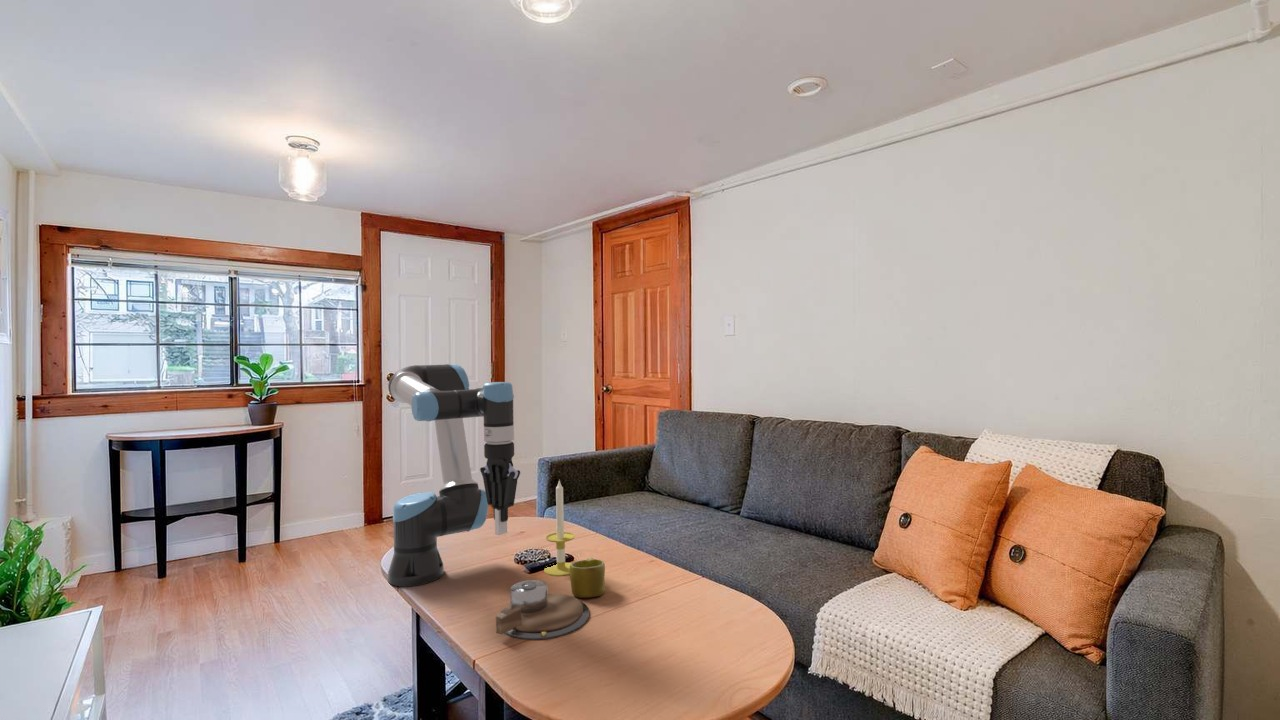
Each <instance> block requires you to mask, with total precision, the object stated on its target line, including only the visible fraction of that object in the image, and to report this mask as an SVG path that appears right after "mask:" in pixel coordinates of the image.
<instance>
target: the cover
mask: <svg viewBox="0 0 1280 720" xmlns="http://www.w3.org/2000/svg"><path fill="white" fill-rule="evenodd" d="M548 591H549V590H548V583H546V582H545V581H543V580H539V579H536V580H535V579H530V580H528V579H527V580H523V581H518V582H516V583H514V584H513V585H511V587H510V605H511V609H514V608H516V607H517V608H520V609H521V613H534V612H538V611H541V610H543V609H544V608H546V607H547V605H548V594H549V593H548Z"/></svg>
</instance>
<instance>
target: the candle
mask: <svg viewBox="0 0 1280 720" xmlns="http://www.w3.org/2000/svg"><path fill="white" fill-rule="evenodd" d="M555 501H556V502H555V503H556V505H555V510H556V515H555V516H556V517H555V518H556V532H552V533H550V534H548V535H546V537H545V539H546V541H548V542H551V543H555V544H556V545H555V547H556V563H557V564H556V565H553V566H551V567H547V566H546V567H547V568H545V567H544V570H543V572H544V573H545V574H546V575H548V576H553V577H564V576H570V564H571V563H572V562H566V542H570V541H573V540H574V539H575V537H576V535H575V534H574V533H573V532H568V531H565V526H564V525H565V523H564V522H565V521H564V520H565V519H564V516H565V515H564V514H565V513H564V511H565V510H564V509H565V508H564V487H563V486H562V484H561V480H560V479H558V483H557V486H556V487H555Z"/></svg>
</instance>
